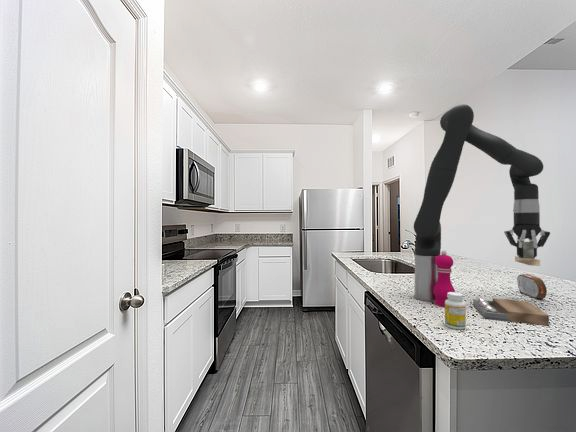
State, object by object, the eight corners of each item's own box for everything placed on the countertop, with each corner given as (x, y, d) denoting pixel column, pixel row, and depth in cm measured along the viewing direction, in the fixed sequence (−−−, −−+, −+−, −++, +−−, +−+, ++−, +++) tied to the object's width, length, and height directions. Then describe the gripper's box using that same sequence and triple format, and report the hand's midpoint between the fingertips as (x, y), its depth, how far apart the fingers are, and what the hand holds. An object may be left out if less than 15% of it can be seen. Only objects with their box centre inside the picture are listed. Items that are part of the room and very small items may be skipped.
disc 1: (491, 305, 99) (489, 308, 99) (487, 301, 103) (485, 305, 103) (480, 298, 100) (477, 302, 100) (476, 295, 104) (474, 299, 104)
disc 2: (495, 309, 95) (492, 312, 95) (491, 305, 98) (488, 309, 99) (482, 302, 96) (480, 305, 96) (479, 298, 100) (477, 302, 100)
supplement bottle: (464, 331, 80) (464, 297, 80) (443, 326, 84) (442, 294, 84) (467, 326, 84) (467, 293, 84) (447, 321, 88) (446, 290, 88)
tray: (485, 318, 91) (485, 312, 91) (473, 304, 105) (473, 299, 106) (508, 321, 88) (507, 314, 88) (492, 306, 103) (492, 300, 103)
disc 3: (500, 313, 91) (498, 317, 91) (495, 308, 94) (493, 312, 95) (487, 306, 92) (485, 310, 92) (483, 302, 95) (481, 306, 96)
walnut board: (508, 321, 88) (507, 311, 88) (492, 306, 103) (492, 298, 103) (548, 325, 85) (548, 315, 85) (526, 309, 100) (526, 301, 100)
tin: (547, 301, 110) (547, 279, 110) (538, 301, 111) (538, 279, 111) (523, 291, 125) (523, 272, 125) (515, 291, 125) (515, 272, 125)
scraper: (529, 265, 101) (528, 242, 101) (515, 261, 114) (514, 241, 114) (540, 265, 100) (539, 242, 100) (524, 261, 113) (523, 241, 113)
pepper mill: (453, 302, 108) (452, 249, 108) (457, 308, 101) (457, 251, 101) (431, 301, 110) (431, 249, 110) (434, 306, 103) (434, 251, 103)
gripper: (506, 211, 106) (507, 258, 106) (555, 211, 101) (555, 260, 101) (500, 212, 113) (501, 255, 113) (545, 211, 108) (545, 257, 108)
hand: (526, 257), depth 107 cm, fingers closed on scraper, 3 cm apart
